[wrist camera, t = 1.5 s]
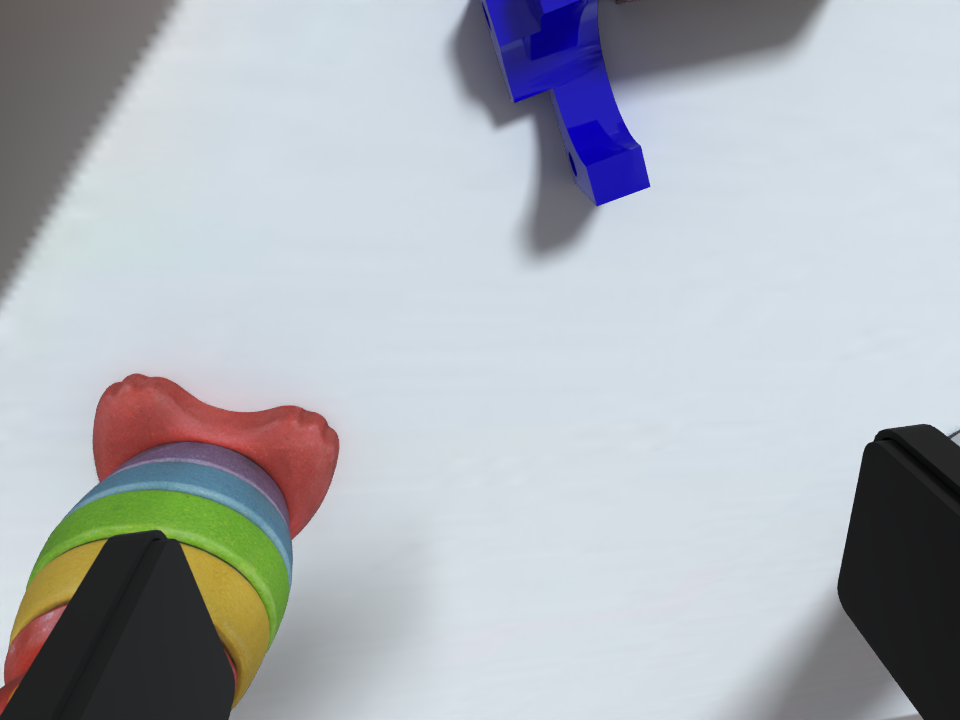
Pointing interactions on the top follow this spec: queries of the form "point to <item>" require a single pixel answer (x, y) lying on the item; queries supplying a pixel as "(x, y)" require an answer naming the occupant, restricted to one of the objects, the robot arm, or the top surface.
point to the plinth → (620, 0)
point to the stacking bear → (189, 512)
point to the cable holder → (569, 88)
